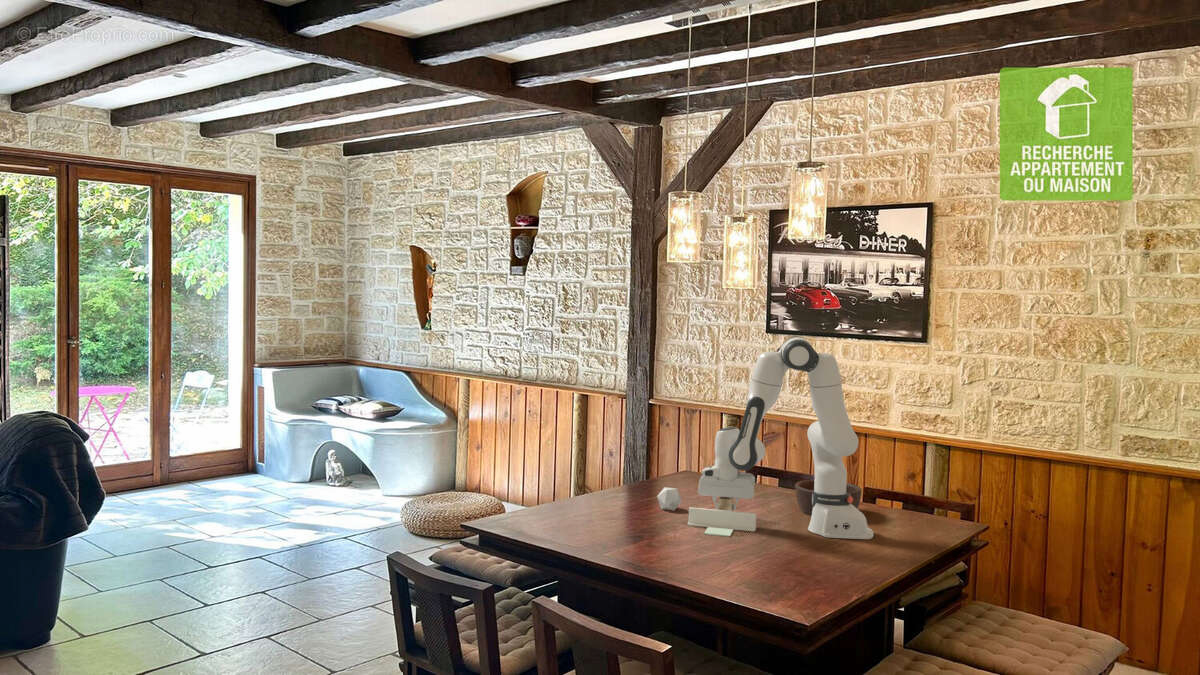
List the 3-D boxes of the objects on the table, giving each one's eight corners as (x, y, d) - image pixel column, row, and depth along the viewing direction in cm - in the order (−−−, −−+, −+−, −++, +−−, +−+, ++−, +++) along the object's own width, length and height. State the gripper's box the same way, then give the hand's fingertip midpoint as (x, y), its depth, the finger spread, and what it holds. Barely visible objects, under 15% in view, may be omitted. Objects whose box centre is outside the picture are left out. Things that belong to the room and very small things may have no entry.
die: (666, 514, 343) (682, 494, 343) (649, 499, 348) (665, 479, 348) (673, 518, 351) (689, 497, 351) (656, 503, 355) (672, 483, 355)
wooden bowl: (868, 521, 339) (869, 494, 338) (801, 519, 339) (802, 492, 339) (851, 505, 364) (852, 480, 363) (788, 504, 364) (789, 478, 364)
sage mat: (733, 530, 320) (733, 529, 320) (730, 536, 311) (730, 535, 311) (707, 527, 322) (708, 526, 322) (704, 534, 314) (704, 533, 314)
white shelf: (756, 528, 323) (756, 512, 323) (754, 531, 319) (755, 514, 319) (689, 522, 329) (690, 506, 329) (687, 525, 325) (688, 508, 325)
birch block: (732, 518, 332) (732, 496, 332) (730, 521, 328) (731, 499, 328) (720, 517, 334) (720, 495, 333) (718, 520, 329) (718, 498, 329)
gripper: (756, 471, 330) (755, 509, 331) (700, 467, 336) (699, 504, 336) (754, 474, 324) (753, 513, 325) (697, 471, 330) (696, 508, 330)
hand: (725, 508), depth 331 cm, fingers closed on birch block, 4 cm apart
